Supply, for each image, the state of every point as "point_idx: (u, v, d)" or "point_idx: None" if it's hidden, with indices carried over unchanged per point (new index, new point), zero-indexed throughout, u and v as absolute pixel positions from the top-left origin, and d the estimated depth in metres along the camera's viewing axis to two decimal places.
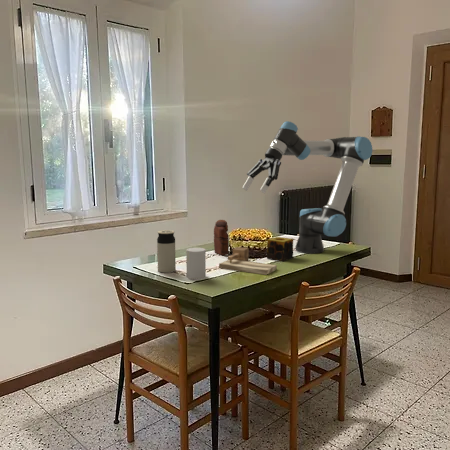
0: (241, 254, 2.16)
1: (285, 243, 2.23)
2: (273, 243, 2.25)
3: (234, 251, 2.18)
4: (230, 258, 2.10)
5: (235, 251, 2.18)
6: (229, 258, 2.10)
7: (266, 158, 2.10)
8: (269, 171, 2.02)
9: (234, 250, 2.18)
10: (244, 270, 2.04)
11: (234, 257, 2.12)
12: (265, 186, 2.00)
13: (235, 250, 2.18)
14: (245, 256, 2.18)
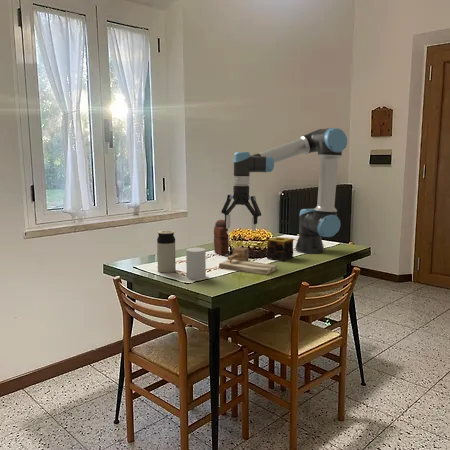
0: (241, 254, 2.16)
1: (285, 243, 2.23)
2: (273, 243, 2.25)
3: (234, 251, 2.18)
4: (230, 258, 2.10)
5: (235, 251, 2.18)
6: (229, 258, 2.10)
7: (236, 194, 2.15)
8: (250, 210, 2.12)
9: (234, 250, 2.18)
10: (244, 270, 2.04)
11: (234, 257, 2.12)
12: (254, 225, 2.13)
13: (235, 250, 2.18)
14: (245, 256, 2.18)
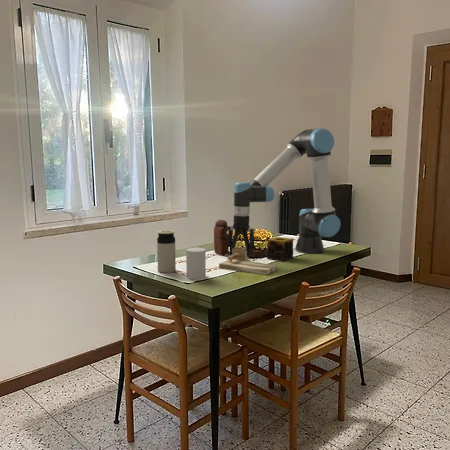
0: (241, 254, 2.16)
1: (285, 243, 2.23)
2: (273, 243, 2.25)
3: (234, 251, 2.18)
4: (230, 258, 2.10)
5: (235, 251, 2.18)
6: (229, 258, 2.10)
7: (235, 223, 2.17)
8: (245, 242, 2.16)
9: (234, 250, 2.18)
10: (244, 270, 2.04)
11: (234, 257, 2.12)
12: (247, 258, 2.18)
13: (235, 250, 2.18)
14: None
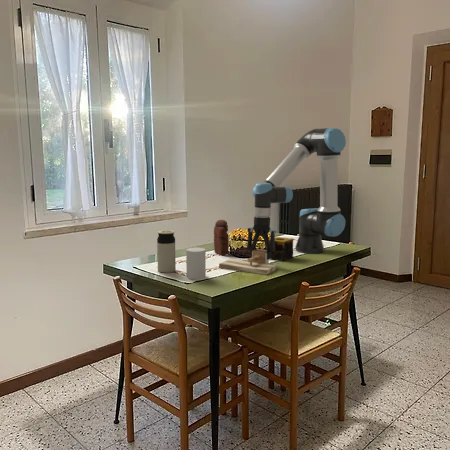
0: (261, 256, 2.11)
1: (285, 243, 2.23)
2: None
3: (254, 253, 2.13)
4: (250, 260, 2.05)
5: (255, 253, 2.13)
6: (249, 260, 2.05)
7: (255, 225, 2.12)
8: (266, 244, 2.10)
9: (254, 252, 2.13)
10: (244, 270, 2.04)
11: (254, 259, 2.07)
12: (267, 260, 2.12)
13: (255, 252, 2.13)
14: None
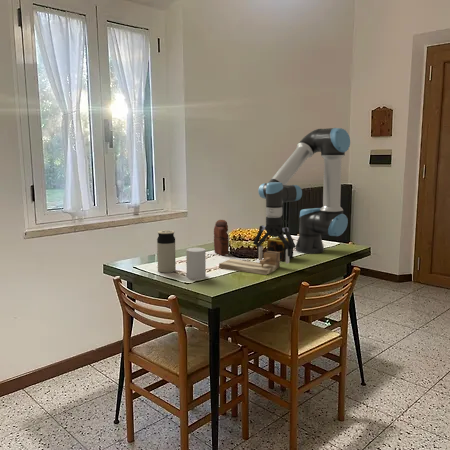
0: (272, 258, 2.08)
1: None
2: (273, 243, 2.25)
3: (265, 255, 2.10)
4: (262, 262, 2.02)
5: (266, 255, 2.10)
6: (261, 262, 2.02)
7: (268, 226, 2.09)
8: (284, 242, 2.06)
9: (265, 254, 2.10)
10: (244, 270, 2.04)
11: (266, 261, 2.04)
12: (288, 257, 2.08)
13: (266, 254, 2.10)
14: (277, 260, 2.10)
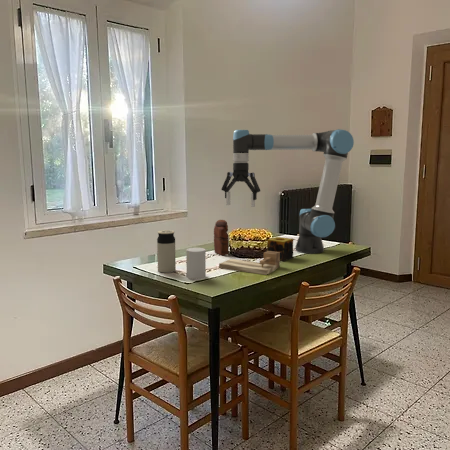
0: (272, 258, 2.08)
1: (285, 243, 2.23)
2: (273, 243, 2.25)
3: (265, 255, 2.10)
4: (262, 262, 2.02)
5: (266, 255, 2.10)
6: (261, 262, 2.02)
7: (235, 171, 2.21)
8: (249, 186, 2.19)
9: (265, 254, 2.10)
10: (244, 270, 2.04)
11: (266, 261, 2.04)
12: (253, 201, 2.20)
13: (266, 254, 2.10)
14: (277, 260, 2.10)
